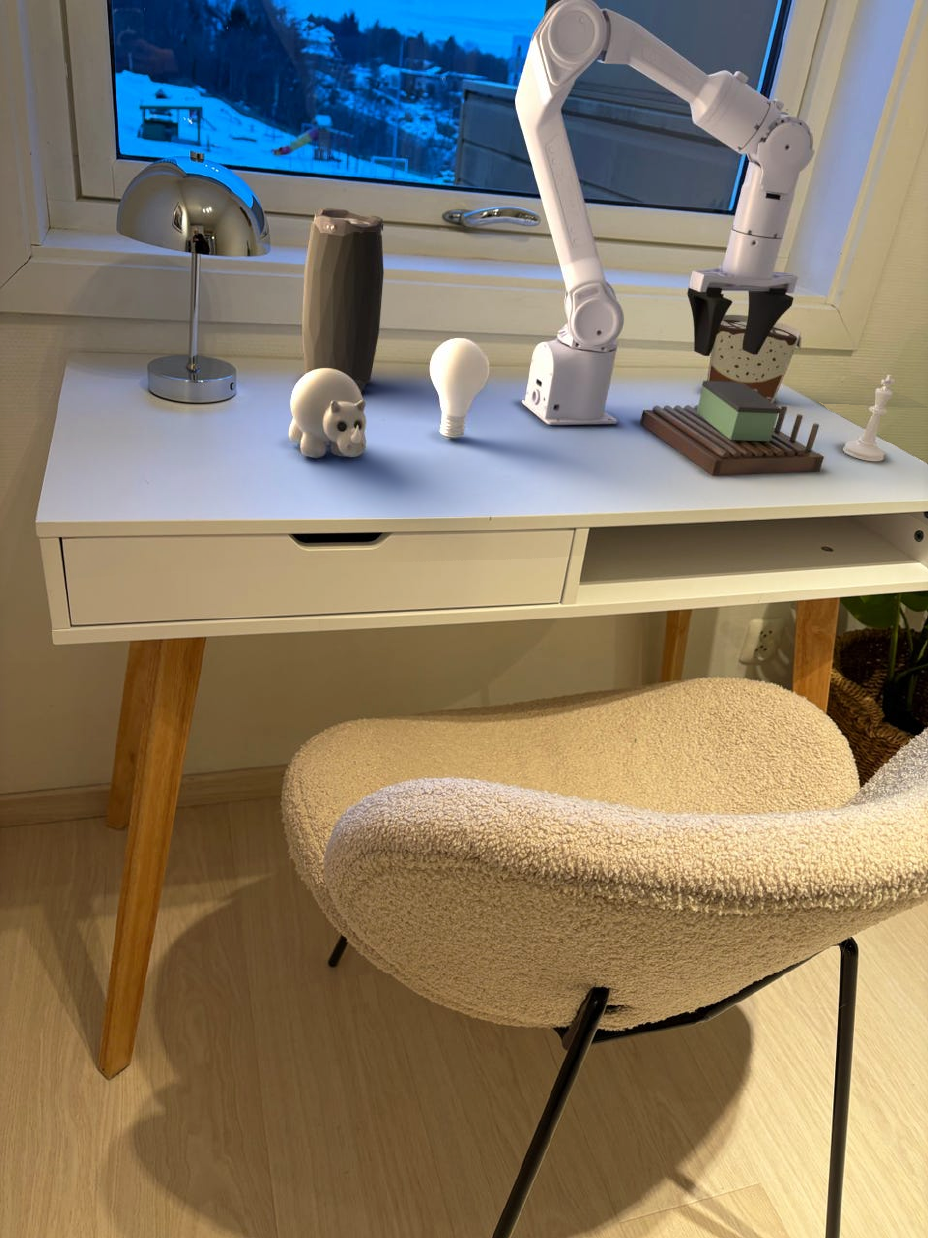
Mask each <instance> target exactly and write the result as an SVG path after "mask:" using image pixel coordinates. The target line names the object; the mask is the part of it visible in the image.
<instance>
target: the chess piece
mask: <svg viewBox="0 0 928 1238" xmlns="http://www.w3.org/2000/svg"><path fill="white" fill-rule="evenodd" d="M880 384H881V385H882V387H878V388H875V391H874V395H875V397H874V405H872V406H871V405H870V406H869V408H868V411H869V412H870V413H872V414H871V416H870V418H869V421H868V423H867V424H866V427H865V429H864V431H863V433H862V435H861V436H860V437H859V438H858V437H857V440H851V441H847V442H845V443H844V446H843V447H842V450H843V452H844V453H845V454H846V455H848V456H850V457H852V458H855V459H859V460H862V461H867V462H881V461H884V459H885V457H884V456H885V454H886V453H885V451H884V449H882V447H880V446H878V442H877V441H876V439H877V433H878V429H879V423H880V419H881V415H887V413H888V412H887V409H886V408H885V406H886V404H887V403H888V402H889V400H890V399H891V398H892V396H893V395H894V393H893V391H892V390H891V389H889V388H890V385H894V384H895V380H894V379H893V375H892V374H887V375H886V377H885V379H881V381H880Z"/></svg>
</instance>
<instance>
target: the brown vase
mask: <svg viewBox="0 0 928 1238" xmlns="http://www.w3.org/2000/svg"><path fill="white" fill-rule="evenodd" d="M383 231H384V224H383V218H382V217H380V216H377V215H371V216H364V215H360V214H356V213H352V212H350V211H348V209H344V208H343V209H342V208H341V209H340V208H334V207H333V208H332V207H326V208H319V209H318V210H317V211H316V212H315V215H314V218H313V219H312V220H311V226H310V232H309V239H308V246H307V251H306V258H305V265H304V273H303V294H302V295H303V297H302V319H301V320H302V321H301V332H302V333H301V334H302V356H303V366H304V371H305V374H304V375H306V374H307V373H309V372H311V371H313V370H317V369H322V368H330V369H335V370H338V371H341V372H343V373H345V374H346V375H348V376H349V377H350V378H351V379H352V380H353V381H354V382H355V383H356V385H357V386H358V388H359V390H360V392H361V393H362V392H363V390H364V389H365V387H366V385H367V384H368V383H369V382H370V381H371V379H372V375H373V374H372V373H373V368H374V363H375V358H376V353H377V345H378V341H379V334H380V325H381V324H380V323H381V314H382V313H381V312H382V298H383V287H384V286H383V285H384V274H385V272H384V271H385V270H384V253H383V250H384V249H383V235H382V232H383Z"/></svg>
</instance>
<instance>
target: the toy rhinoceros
mask: <svg viewBox="0 0 928 1238" xmlns="http://www.w3.org/2000/svg"><path fill="white" fill-rule="evenodd" d="M305 374H306V373H305ZM305 374H304V375H302V377H300V379H299V380H298V381H297V382H296V384H295V386H294V388H293V389H292V393H291V397H290V411H291V415H292V420H291V423H290V425H289V428H288V429H289V430H288V438H289V440H290V441H291V442H293V443H295V444H299V445H300V447H299V448H300V453H301V454H302V455H304V456H306V457H309V458H315V459H317V458H322V457H324V455H325V454H326V452H327V447H328V446H327V445H330V451H331V452H332V454H334V455H336V456H338V457H346V458H347V457H349V458H354V457H358V456H361V455H362V454H363V453H364V452H365V450H366V448H367V438H366V428H367V418H366V415H365V412H364V411H365V408H366V400H365V399H363V397H362V392H360V390H359V388H358V386H357V385H356V383H355V382H354V381H353V380H352V379H351V378H350V377H349V376H348V375H346V374H345V373H343V372H341V371H338V370H335V369H330V368H322V369H317V370H313V371H311V372H309V373H307V374H306V375H305Z"/></svg>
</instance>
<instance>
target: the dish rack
mask: <svg viewBox="0 0 928 1238" xmlns="http://www.w3.org/2000/svg"><path fill="white" fill-rule="evenodd" d="M753 390H754V391H756V392H757V391H758V390H756V389H753ZM766 399H767V400H769V401H770V402H771V401H772V398H771V397H767V398H766ZM698 405H699V404H697V405H695V406H694V407H693V406H691V405H689V404H686V405H684V407H682V406H680V405H679V404H678V405H675V406H674V407H672V406H670V405H668V404H667V405H664V407H661V406H660V405H654V406H653V407H652V409H642V412H641V417H640V420H639V424H640V425H641V426H642V427H644V428H645V429H647V430H648V431H650V433H652V434H653V435H654V436H656V437H658V438H659V439H661V440H662V441H663V442H664V443H666V444H667V445H669V446H671V448H673V449H675V450H676V451H678V452H679V453H680V454H681V455H683V456H685V457H686V458H688V460H690V461H692V462H693V463H694V464H696V465H697V466H698V467H699V468H701V469H703V470H704V471H705V472H707V473H708V474H709V475H712V476H722V475H725V476H727V475H744V474H745V475H749V474H750V475H751V474H752V475H753V474H774V473H798V472H801V473H803V472H820V471H821V469H822V465H823V462H824V460H825V456H824V455H823V454H821V453H820V452H816V451H814V450H813V447H814V444H815V441H816V437H817V434H818V432H819V428H820V424H819V423H815V422H814V423H813V424H812V426H811V429H810V433H809V437H808V439H807V442H806V445H804V444H802V443H801V442H799V441H797V438H798V434H799V431H800V427H801V424H802V421H803V418H804V415H803V414H801V413H797V414H796V417H795V420H794V424H793V427H792V430H791V433H790V436H789V435H787V433H784V432H783V431H782V427H783V424H784V419H785V416H786V413H787V410H788V406H787V405H784V404H783V405H781V406H780V408H781V410H780V413H779V414H778V416H777V420H776V423H775V426H774V430H773V433H772V437H771V440H770V441H742V440H730V439H728V438H727V437H726V436H725V435H723V434H722V433H721V432H720V431H718V430H717V429H716V428H715V427H713V426H712V425H711V424H710V423H709V422H707V421H706V420H705V419H704V418H702V417H701V416H700V415H699V414H697V409H698Z"/></svg>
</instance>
